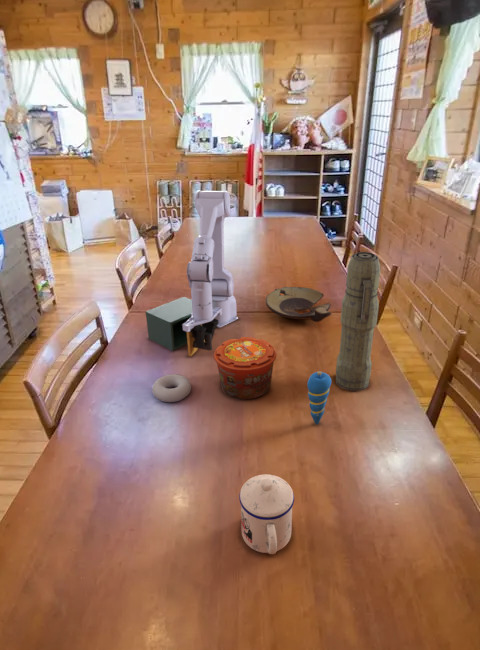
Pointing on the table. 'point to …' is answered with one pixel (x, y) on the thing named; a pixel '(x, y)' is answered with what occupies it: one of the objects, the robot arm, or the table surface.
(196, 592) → the table surface
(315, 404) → the ornament
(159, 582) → the table surface
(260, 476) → the teacup with lid
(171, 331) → the cupboard
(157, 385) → the donut
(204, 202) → the robot arm
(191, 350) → the cupboard door
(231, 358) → the food container
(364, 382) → the thermos
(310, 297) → the oil lamp
